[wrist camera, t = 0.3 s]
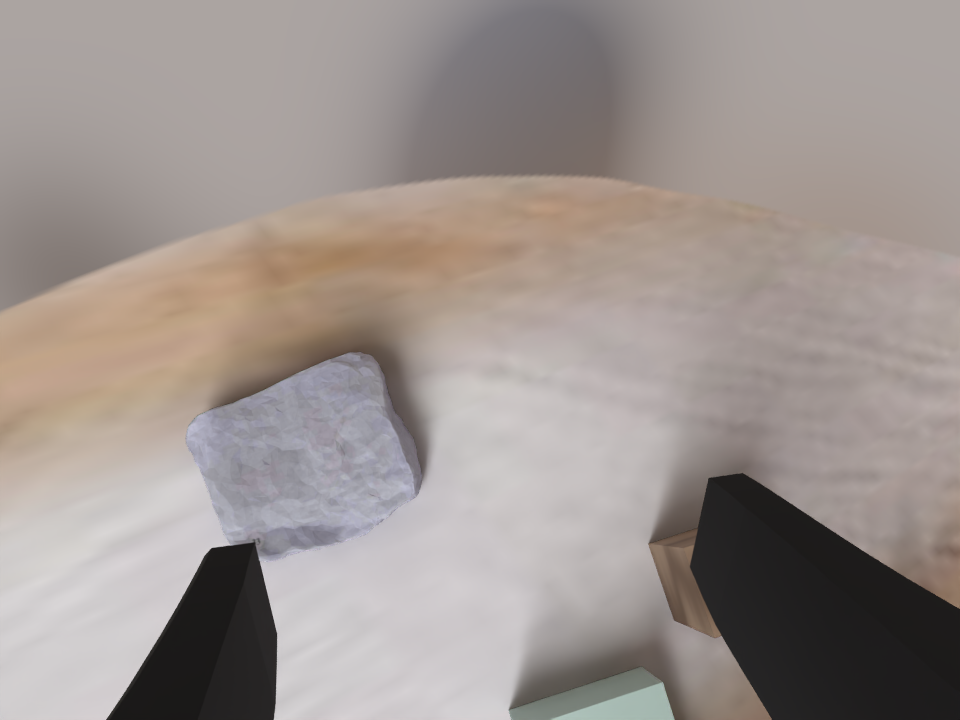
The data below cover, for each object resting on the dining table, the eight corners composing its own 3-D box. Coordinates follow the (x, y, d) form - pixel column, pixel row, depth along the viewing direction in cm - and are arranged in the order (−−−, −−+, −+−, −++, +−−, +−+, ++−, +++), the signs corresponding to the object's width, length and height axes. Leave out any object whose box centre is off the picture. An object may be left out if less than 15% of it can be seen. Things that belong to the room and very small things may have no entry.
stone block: (437, 488, 42) (371, 343, 42) (441, 501, 37) (367, 338, 37) (259, 572, 40) (190, 423, 40) (239, 598, 36) (161, 428, 35)
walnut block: (743, 596, 39) (796, 610, 34) (673, 620, 39) (715, 638, 33) (716, 521, 40) (763, 522, 34) (648, 543, 40) (683, 548, 34)
